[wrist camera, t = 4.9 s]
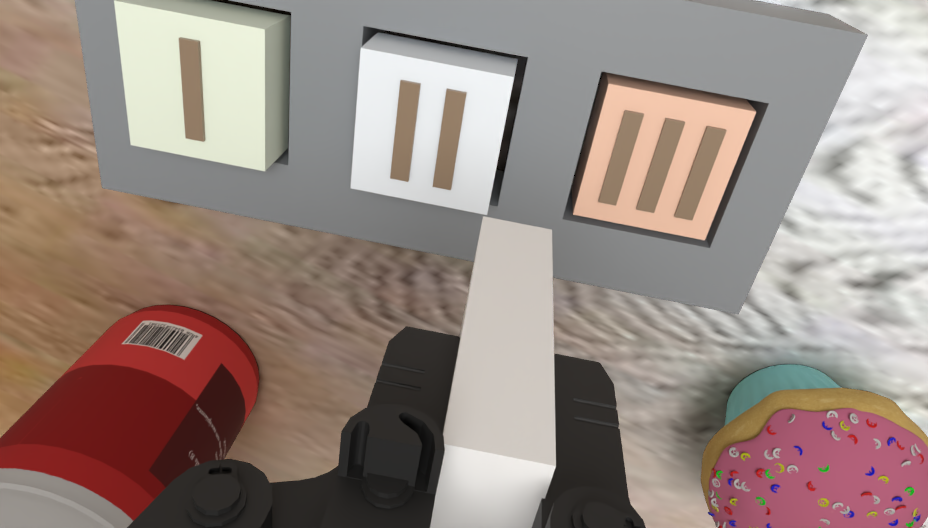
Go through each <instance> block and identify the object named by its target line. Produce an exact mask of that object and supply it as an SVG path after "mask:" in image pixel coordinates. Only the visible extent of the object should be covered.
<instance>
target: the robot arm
mask: <svg viewBox="0 0 928 528" xmlns="http://www.w3.org/2000/svg"><path fill="white" fill-rule="evenodd" d="M618 426H619V421H618V414H617V410H616V399H615V391H614V384H613V382H612V381H611V379H610V378H609V376H608V375H607V373H606V372H605V370H604V369H603V367H602V365H601V364H600V363H599V362H594V361H589V360H584V359H579V358H574V357H569V356H564V355H559V354H554V317H553V257H552V230H551V229H546V228H541V227H536V226H531V225H526V224H520V223H515V222H510V221H505V220H500V219H495V218H490V217H485V216H483V219H482V224H481V229H480V234H479V239H478V244H477V249H476V254H475V259H474V264H473V269H472V274H471V279H470V284H469V289H468V294H467V299H466V304H465V309H464V314H463V319H462V325H461V330H460V335H459V337H458V336H453V335H448V334H443V333H438V332H433V331H427V330H422V329H417V328H412V327H407V326H406V327H405V328H404V329H403V330H402V331H400V332H399V333H398V334H397V335H396V336H395V337H394V338H393V339H391V340H390V341H389V343H388V346H387V349H386V352H385V355H384V358H383V361H382V366H381V367H380V370H379V373H378V376H377V380H376V383H375V385H374V388H373V391H372V394H371V397H370V400H369V403H368V406H367V408H365V409H363V410H362V411H360V412H359V413H357V414H355V415H354V416H352V417H351V418H350V419H349V421H348V422H347V424H346V425H345V427H344V428H343V430H342V433H341V443H340V454H339V465H338V466H337V467H336V468H334V469H333V470H331V471H330V472H328V473H326V474H323V475H320V476H318V477H315V478H310V479H305V480H299V481H287V482H275V483H269V481H268V479H267V477H266V476H265V474H264V473H263V472H262V471H260V470H259V469H257V468H256V467H254V466H253V465H251V464H250V463H246V462H242V461H237V460H233V459H224V460H211V461H207V462H205V463H202V464H199V465H197V466H194V467H191V468H189V469H188V470H186V471H185V472H184V473H182V474H181V475H180V476H178V477H177V478H176V479H174V480H173V481H172V482H171V483H170V484H169V485H168V486H167V487H166V488H165V489H164V490H163V491H162V492H161V493H160V494H159V495H158V496H157V497H156V498H155V499H154V500H153V501H152V502H151V503H150V505H149V506H148V507H147V508H146V509H145V510H144V511H143V512H142V513H141V514H140V515H139V516H138V517H137V518H136V519H135V520H134V521H133V522H132V523H131V524H130V525H129V526H128V527H127V528H646V527H645V524H644V522H643V519H642V518H641V517H640V516H639V515H638V513H637V512H636V511H635V510H634V508H633V507H632V506H631V504H630V501H629V497H628V490H627V482H626V474H625V467H624V459H623V452H622V444H621V437H620V429H618Z"/></svg>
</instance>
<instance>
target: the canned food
mask: <svg viewBox="0 0 928 528" xmlns="http://www.w3.org/2000/svg"><path fill="white" fill-rule="evenodd" d="M258 384H259V372H258V366H257V364H256V361H255V358H254V356H253V354H252V352H251V351H250V349H249V347H248V346H247V345H246V343H245V342H244V341H243V340H242V339H241V338H240V336H239V335H238V334H236V333H235V332H234V331H233V330H232V329H231V328H229V327H228V326H227V325H225V324H224V323H222V322H221V321H219V320H217V319H216V318H214V317H212V316H210V315H207V314H205V313H203V312H201V311H198V310H194V309H190V308H187V307H182V306H174V305H156V306H151V307H147V308H143V309H141V310H139V311H136V312H134V313H132V314H130V315H128V316H126V317H124V318H122V319H120V320H118V321H117V322H116V323H115V324H113V325H112V326H111V327H110V328H109V329H108V330H107V331H106V332H105V333H104V334H103V335H102V336H101V337H100V338H99V339H98V340H97V341H96V342H95V343H94V344H93V345H92V346H91V347H90V348H89V349H88V350H87V351H86V352H85V353H84V354H83V355H82V356H81V357H80V358H79V359H78V360H77V361H76V362H75V363H74V364H73V365H72V366H71V367H70V368H69V369H68V370H67V371H66V372H65V373H64V374H63V375H62V376H61V377H60V378H59V379H58V380H57V381H56V382H55V383H54V384H53V385H52V386H51V387H50V388H49V389H48V390H47V391H46V392H45V393H44V394H43V395H42V396H41V397H40V398H39V399H38V400H37V402H36V403H35V404H34V405H33V406H32V407H31V408H30V409H29V410H28V411H27V412H26V413H25V414H24V415H23V416H22V417H21V418H20V419H19V420H18V421H17V422H16V423H15V424H14V425H13V426H12V427H11V428H10V429H9V430H8V431H7V432H6V433H5V434H4V435H3V436H2V437H1V438H0V528H127V527H128V526H129V525H130V524H131V523H132V522H133V521H134V520H135V519H136V518H137V517H138V516H139V515H140V514H141V513H142V512H143V511H144V510H145V509H146V508H147V507H148V506H149V505H150V503H151V502H152V501H153V500H154V499H155V498H156V497H157V496H158V495H159V494H160V493H161V492H162V491H163V490H164V489H165V488H166V487H167V486H168V485H169V484H170V483H171V482H172V481H173V480H174V479H176V478H177V477H178V476H180V475H181V474H182V473H184V472H185V471H186V470H188V469H189V468H191V467H194V466H197V465H199V464H202V463H205V462H207V461H211V460H224V458H225V456H226V455H227V453H228V451H229V449H230V448H231V446H232V444H233V442H234V440H235V439H236V437H237V435H238V433H239V431H240V430H241V428H242V426H243V424H244V423H245V421H246V419H247V417H248V415H249V414H250V412H251V410H252V408H253V406H254V404H255V402H256V397H257V392H258Z"/></svg>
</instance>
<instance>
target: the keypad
mask: <svg viewBox="0 0 928 528" xmlns="http://www.w3.org/2000/svg"><path fill="white" fill-rule="evenodd" d="M230 1H235V2H241V3H246V4H251V5H256V6H262V7H267V8H272V9H277V10H283V11H288V12H291V48H290V104H289V129H288V148H287V149H286V150H285V152H284V153H283V154H282V155H281V156H280V157H279V158H278V159H277V160H276V161H275V162H274V163H273V164H272V165H271V166H270V167H269V168H268V169H267V170H266V171H260V170H255V169H250V168H245V167H240V166H235V165H230V164H225V163H219V162H214V161H209V160H204V159H199V158H194V157H189V156H184V155H179V154H174V153H169V152H164V151H158V150H153V149H148V148H143V147H138V146H133V145H131V143H130V135H129V126H128V117H127V109H126V100H125V91H124V83H123V74H122V65H121V57H120V48H119V39H118V31H117V22H116V13H115V5H114V0H75V5H76V12H77V19H78V26H79V32H80V39H81V46H82V53H83V60H84V67H85V74H86V81H87V88H88V95H89V101H90V108H91V115H92V122H93V129H94V136H95V143H96V150H97V157H98V164H99V170H100V177H101V184H102V188H104V189H109V190H114V191H119V192H125V193H130V194H135V195H140V196H145V197H150V198H155V199H160V200H165V201H170V202H175V203H180V204H185V205H190V206H195V207H200V208H205V209H210V210H215V211H220V212H225V213H230V214H235V215H240V216H245V217H251V218H256V219H261V220H266V221H271V222H276V223H281V224H286V225H291V226H296V227H301V228H306V229H311V230H316V231H321V232H326V233H331V234H336V235H341V236H346V237H351V238H356V239H361V240H366V241H371V242H376V243H382V244H387V245H392V246H397V247H402V248H407V249H412V250H417V251H422V252H427V253H432V254H437V255H442V256H447V257H452V258H457V259H462V260H467V261H472V262H474V259H475V254H476V249H477V244H478V239H479V234H480V229H481V224H482V219H483V216H485V217H490V218H495V219H500V220H505V221H510V222H515V223H520V224H526V225H531V226H536V227H541V228H546V229H551V230H552V257H553V278H558V279H563V280H568V281H573V282H578V283H583V284H588V285H593V286H598V287H603V288H608V289H613V290H618V291H623V292H628V293H633V294H639V295H644V296H649V297H654V298H659V299H664V300H669V301H674V302H679V303H684V304H689V305H694V306H699V307H704V308H709V309H714V310H719V311H724V312H729V313H734V314H739V312H740V310H741V308H742V306H743V304H744V301H745V299H746V297H747V295H748V293H749V291H750V288H751V286H752V284H753V282H754V280H755V278H756V275H757V273H758V271H759V269H760V267H761V265H762V263H763V260H764V258H765V256H766V254H767V252H768V250H769V247H770V245H771V243H772V241H773V239H774V237H775V234H776V232H777V230H778V228H779V226H780V224H781V222H782V219H783V217H784V215H785V213H786V211H787V209H788V206H789V204H790V202H791V200H792V198H793V196H794V193H795V191H796V189H797V187H798V185H799V183H800V180H801V178H802V176H803V174H804V172H805V170H806V168H807V165H808V163H809V161H810V159H811V157H812V155H813V152H814V150H815V148H816V146H817V144H818V142H819V139H820V137H821V135H822V133H823V131H824V129H825V127H826V124H827V122H828V120H829V118H830V116H831V114H832V111H833V109H834V107H835V105H836V103H837V101H838V98H839V96H840V94H841V92H842V90H843V88H844V86H845V83H846V81H847V79H848V77H849V75H850V73H851V70H852V68H853V66H854V64H855V62H856V60H857V57H858V55H859V53H860V51H861V49H862V47H863V45H864V42H865V40H866V38H867V36H868V35H867V34H865V33H863V32H861V31H860V30H858V29H856V28H854V27H852V26H850V25H848V24H846V23H844V22H843V21H841V20H839V19H837V18H835V17H833V16H831V15H829V14H825V13H819V12H814V11H809V10H803V9H798V8H793V7H787V6H782V5H777V4H771V3H766V2H761V1H755V0H230ZM384 30H387V31H393V32H398V33H403V34H408V35H414V36H419V37H424V38H429V39H434V40H440V41H445V42H450V43H455V44H461V45H466V46H471V47H476V48H482V49H487V50H492V51H497V52H503V53H508V54H513V55H518V56H524V57H527V60H526V65H525V70H524V75H523V80H522V85H521V90H520V95H519V100H518V104H517V109H516V114H515V119H514V124H513V129H512V134H511V139H510V144H509V149H508V154H507V158H506V163H505V168H504V171H501V170H496V173H495V178H494V183H493V188H492V193H491V198H490V203H489V208H488V213H487V215H484V214H479V213H474V212H469V211H464V210H458V209H453V208H448V207H443V206H438V205H433V204H428V203H423V202H418V201H413V200H408V199H402V198H397V197H392V196H387V195H382V194H377V193H372V192H367V191H362V190H357V189H352V188H351V174H352V160H353V147H354V133H355V119H356V105H357V91H358V78H359V64H360V50H361V47H362V46H363V45H364V44H365V43H367V42H368V41H369V40H370V39H371V38H372V37H373V36H374V35H375V34H377V33H378V32H379V33H384ZM601 72H607V73H613V74H618V75H623V76H628V77H634V78H639V79H644V80H649V81H655V82H660V83H665V84H670V85H676V86H681V87H686V88H691V89H696V90H702V91H707V92H712V93H717V94H723V95H728V96H733V97H738V98H744V99H746V100H747V101H748V102H749V104H750V105H751V106H752V107H753V108H754V110H755V111H756V114H755V117H754V119H753V122H752V124H751V127H750V129H749V132H748V134H747V137H746V139H745V142H744V144H743V146H742V149H741V151H740V154H739V156H738V159H737V161H736V164H735V166H734V169H733V171H732V174H731V176H730V179H729V181H728V184H727V186H726V189H725V191H724V194H723V196H722V199H721V201H720V204H719V206H718V209H717V211H716V214H715V216H714V219H713V221H712V224H711V226H710V229H709V231H708V234H707V236H706V239H705V240H700V239H695V238H690V237H685V236H680V235H675V234H670V233H664V232H659V231H654V230H649V229H644V228H639V227H634V226H629V225H624V224H619V223H613V222H608V221H603V220H598V219H593V218H588V217H583V216H578V215H573V204H572V186H573V184H572V181H573V177H574V173H575V170H576V166H577V162H578V158H579V155H580V151H581V147H582V143H583V140H584V136H585V132H586V128H587V124H588V121H589V117H590V113H591V109H592V106H593V102H594V98H595V94H596V90H597V87H598V83H599V79H600V75H601Z"/></svg>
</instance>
